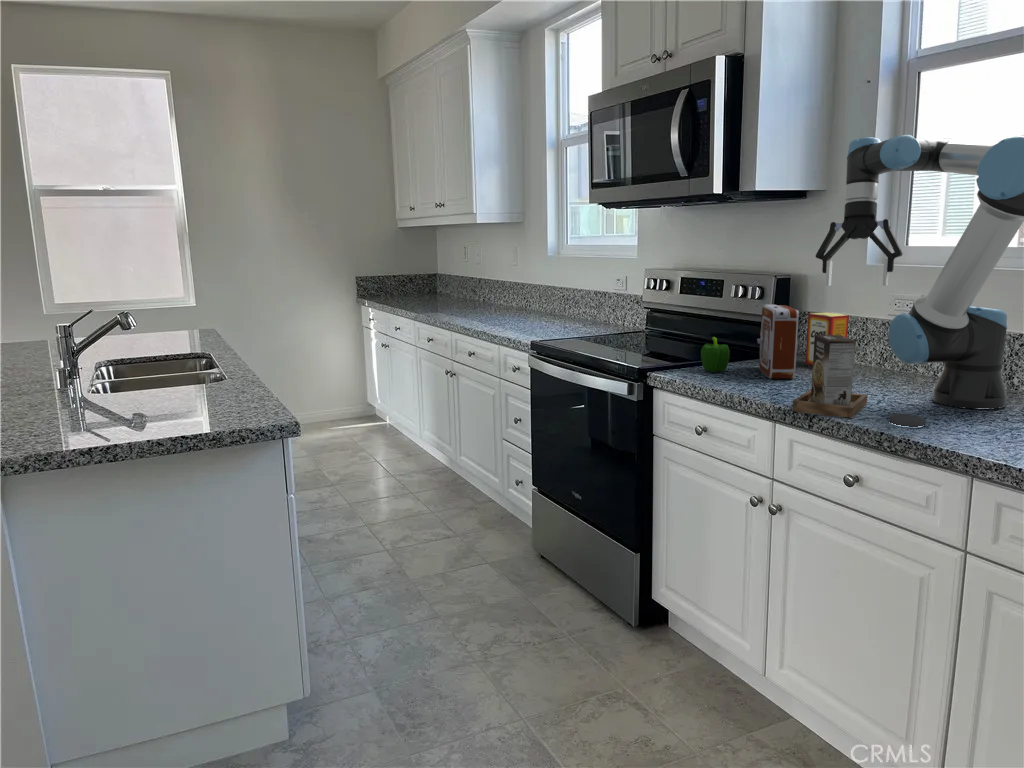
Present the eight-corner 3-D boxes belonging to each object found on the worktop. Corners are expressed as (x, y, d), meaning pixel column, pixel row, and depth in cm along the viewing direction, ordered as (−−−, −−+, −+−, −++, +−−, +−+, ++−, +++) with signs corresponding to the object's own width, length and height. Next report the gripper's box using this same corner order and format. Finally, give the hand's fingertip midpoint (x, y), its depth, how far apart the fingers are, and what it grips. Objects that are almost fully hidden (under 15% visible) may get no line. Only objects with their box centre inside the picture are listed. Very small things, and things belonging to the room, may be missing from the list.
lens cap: (930, 425, 163) (931, 418, 162) (915, 431, 158) (916, 424, 158) (897, 418, 168) (898, 412, 168) (882, 424, 164) (883, 417, 163)
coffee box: (809, 400, 182) (813, 334, 179) (836, 400, 182) (841, 334, 179) (823, 409, 173) (827, 340, 170) (851, 409, 173) (856, 339, 170)
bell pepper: (727, 374, 219) (728, 340, 217) (698, 373, 222) (699, 339, 220) (730, 369, 227) (731, 336, 225) (702, 367, 230) (703, 335, 228)
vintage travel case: (782, 367, 228) (785, 301, 224) (799, 380, 209) (804, 308, 205) (750, 367, 229) (754, 301, 225) (765, 380, 210) (769, 308, 206)
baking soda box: (805, 363, 233) (808, 312, 229) (822, 362, 235) (825, 311, 231) (827, 369, 224) (831, 315, 221) (845, 367, 226) (848, 314, 223)
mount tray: (866, 405, 180) (867, 395, 179) (851, 418, 168) (852, 407, 168) (810, 398, 187) (811, 388, 187) (792, 411, 176) (792, 400, 175)
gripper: (918, 200, 187) (912, 285, 189) (813, 207, 202) (809, 286, 204) (913, 195, 181) (907, 284, 183) (806, 203, 196) (802, 285, 198)
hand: (856, 285), depth 194 cm, fingers open, 13 cm apart
